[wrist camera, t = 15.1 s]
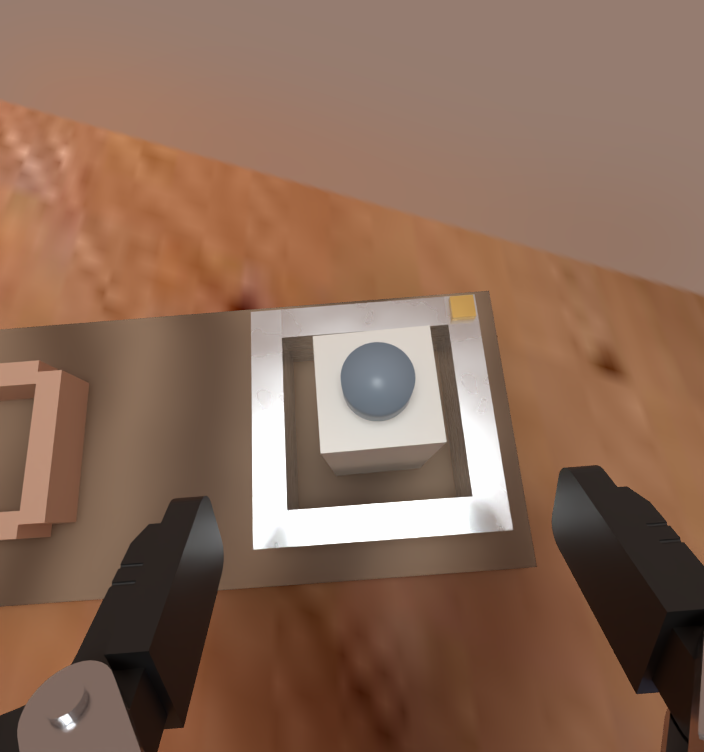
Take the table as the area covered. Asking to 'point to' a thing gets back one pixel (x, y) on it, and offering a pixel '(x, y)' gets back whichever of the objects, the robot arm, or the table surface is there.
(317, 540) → the frame
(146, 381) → the panel
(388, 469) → the plug
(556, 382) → the table surface
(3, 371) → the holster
